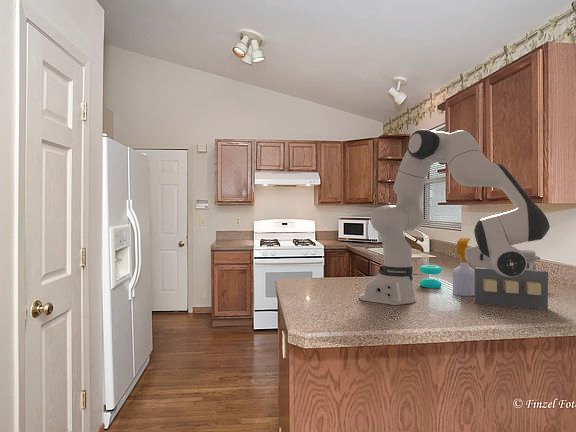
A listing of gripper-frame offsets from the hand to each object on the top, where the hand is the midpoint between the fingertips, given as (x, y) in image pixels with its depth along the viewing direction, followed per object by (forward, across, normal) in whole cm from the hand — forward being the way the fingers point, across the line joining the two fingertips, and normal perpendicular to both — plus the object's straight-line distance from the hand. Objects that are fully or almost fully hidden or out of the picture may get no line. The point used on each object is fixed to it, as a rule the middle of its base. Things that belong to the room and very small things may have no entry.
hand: (495, 252), depth 127 cm
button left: (+16, 0, +16) cm, 23 cm away
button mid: (+16, -7, +16) cm, 24 cm away
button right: (+16, -14, +16) cm, 27 cm away
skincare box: (+59, -21, +22) cm, 66 cm away
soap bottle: (+33, +8, +22) cm, 41 cm away
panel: (+18, -7, +22) cm, 29 cm away
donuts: (+45, +22, +22) cm, 55 cm away
